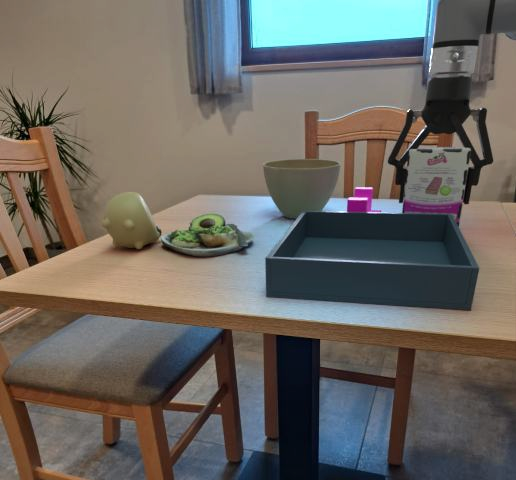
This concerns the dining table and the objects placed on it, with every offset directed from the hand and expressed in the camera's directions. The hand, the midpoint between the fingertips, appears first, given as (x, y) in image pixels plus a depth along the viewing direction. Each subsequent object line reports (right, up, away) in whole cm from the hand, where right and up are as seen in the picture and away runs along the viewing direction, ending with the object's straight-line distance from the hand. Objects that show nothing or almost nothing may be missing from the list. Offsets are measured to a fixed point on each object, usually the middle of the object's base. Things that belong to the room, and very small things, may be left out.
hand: (432, 202), depth 92 cm
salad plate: (-45, -8, +1) cm, 46 cm away
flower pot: (-24, +3, +22) cm, 33 cm away
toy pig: (-59, -9, +1) cm, 60 cm away
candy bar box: (0, -6, +3) cm, 6 cm away
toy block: (-12, -4, +8) cm, 15 cm away
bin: (-16, -16, -15) cm, 27 cm away
